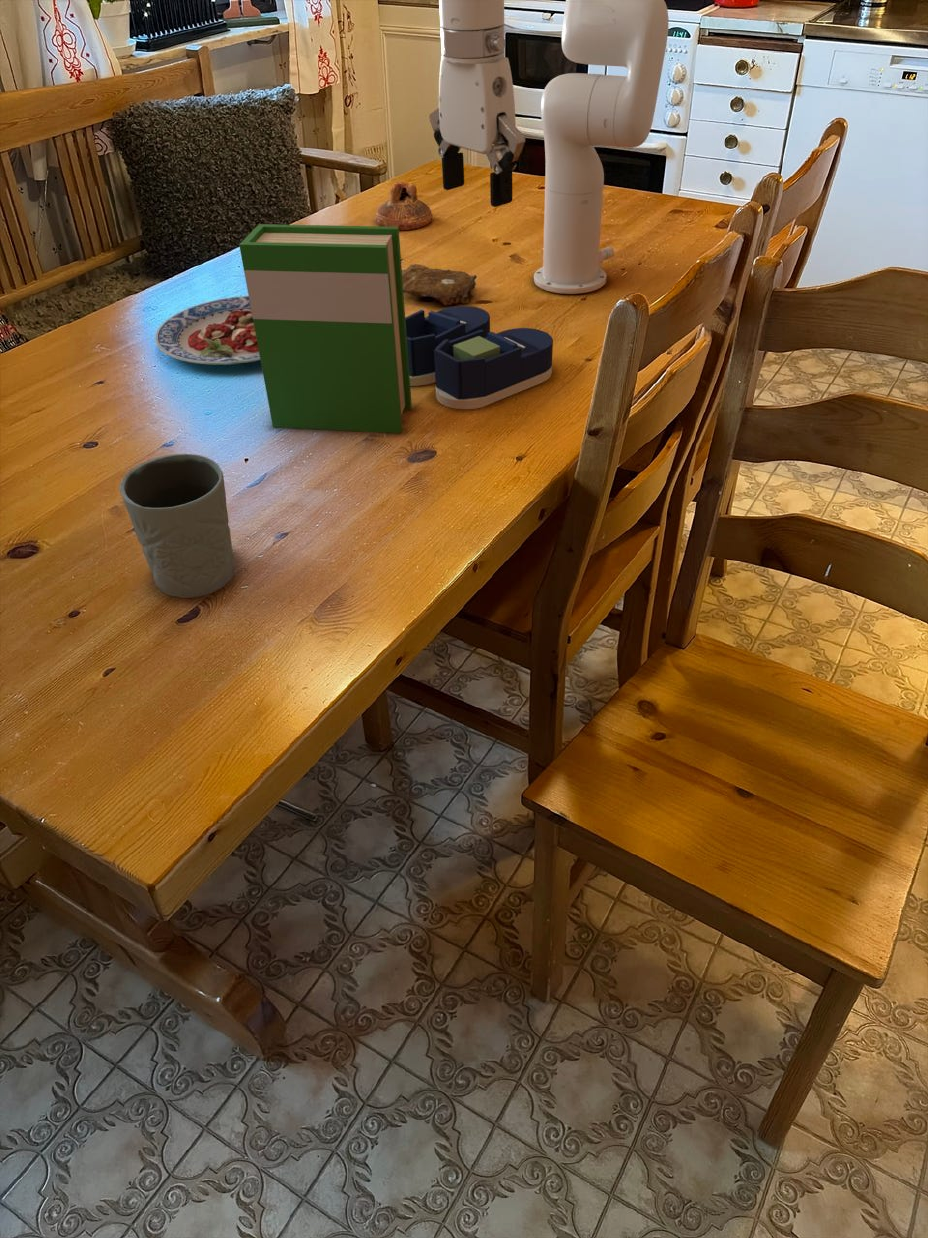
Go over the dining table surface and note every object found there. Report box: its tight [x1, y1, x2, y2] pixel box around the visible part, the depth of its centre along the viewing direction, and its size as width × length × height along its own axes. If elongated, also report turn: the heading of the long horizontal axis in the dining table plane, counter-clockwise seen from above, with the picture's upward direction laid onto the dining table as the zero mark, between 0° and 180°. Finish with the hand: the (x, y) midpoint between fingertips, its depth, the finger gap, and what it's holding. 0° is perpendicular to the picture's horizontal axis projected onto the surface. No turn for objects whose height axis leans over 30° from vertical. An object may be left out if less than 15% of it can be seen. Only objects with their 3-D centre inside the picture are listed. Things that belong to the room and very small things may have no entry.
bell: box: [374, 181, 433, 231], centre depth 185 cm, size 12×12×7 cm
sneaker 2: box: [434, 327, 554, 411], centre depth 129 cm, size 19×9×7 cm, turn 128°
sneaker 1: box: [405, 305, 491, 387], centre depth 135 cm, size 19×9×7 cm, turn 139°
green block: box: [453, 336, 500, 360], centre depth 127 cm, size 5×5×5 cm
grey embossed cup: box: [119, 453, 236, 599], centre depth 95 cm, size 10×10×12 cm
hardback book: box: [238, 223, 413, 434], centre depth 117 cm, size 18×7×24 cm, turn 81°
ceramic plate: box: [154, 295, 261, 365], centre depth 144 cm, size 26×26×3 cm
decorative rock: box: [402, 263, 477, 306], centre depth 156 cm, size 11×4×15 cm
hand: (477, 195), depth 119 cm, fingers open, 9 cm apart
